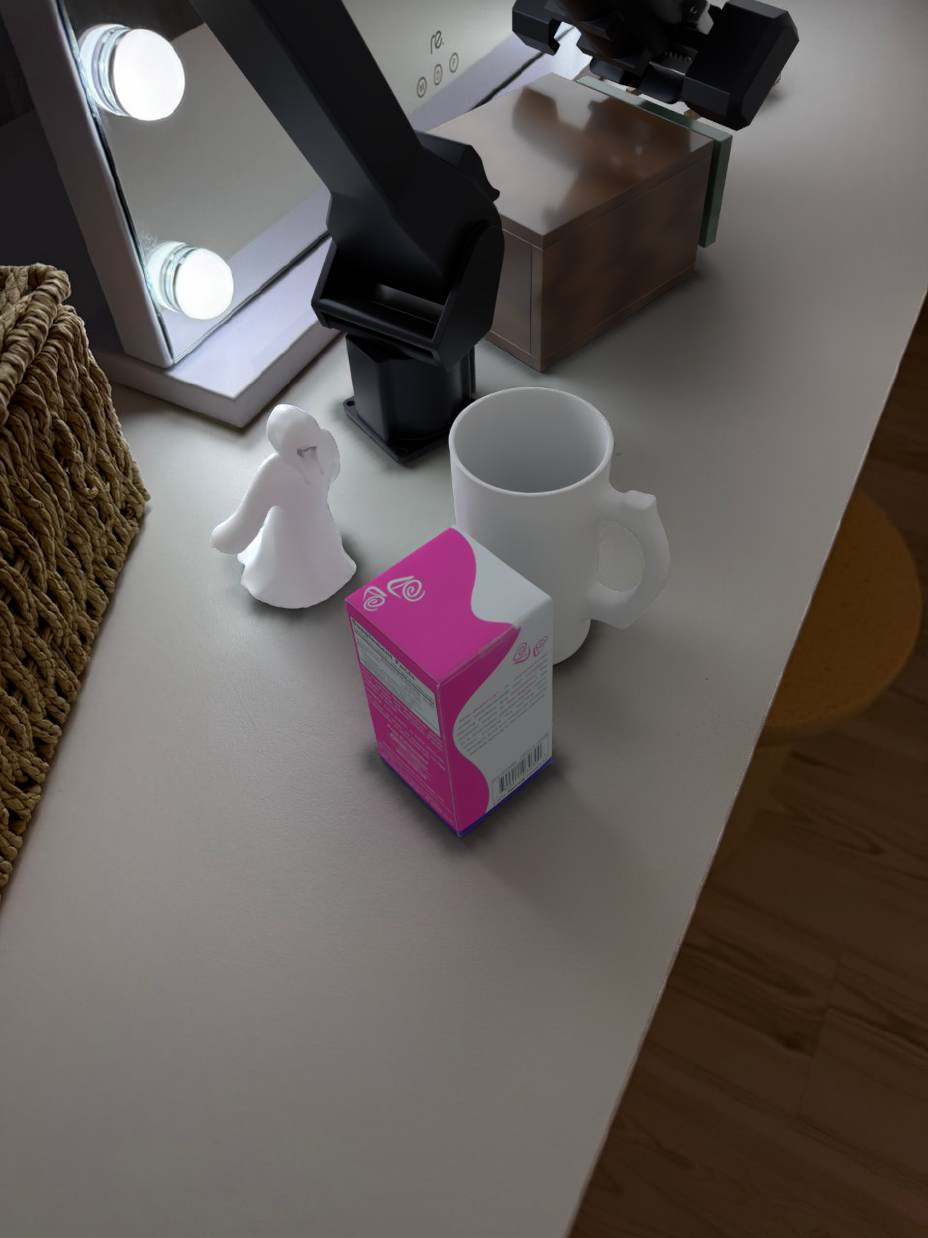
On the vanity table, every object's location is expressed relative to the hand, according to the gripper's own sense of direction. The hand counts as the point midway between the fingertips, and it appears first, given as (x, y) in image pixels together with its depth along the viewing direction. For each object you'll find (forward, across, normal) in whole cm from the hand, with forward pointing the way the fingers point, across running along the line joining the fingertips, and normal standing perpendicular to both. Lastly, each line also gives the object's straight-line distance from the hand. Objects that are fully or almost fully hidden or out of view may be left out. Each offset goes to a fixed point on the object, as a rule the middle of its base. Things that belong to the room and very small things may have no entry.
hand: (693, 93), depth 70 cm
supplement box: (-26, -24, +36) cm, 51 cm away
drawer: (-1, 0, +10) cm, 10 cm away
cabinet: (-5, 0, +15) cm, 16 cm away
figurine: (-25, -9, +35) cm, 44 cm away
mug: (-20, -22, +31) cm, 43 cm away
